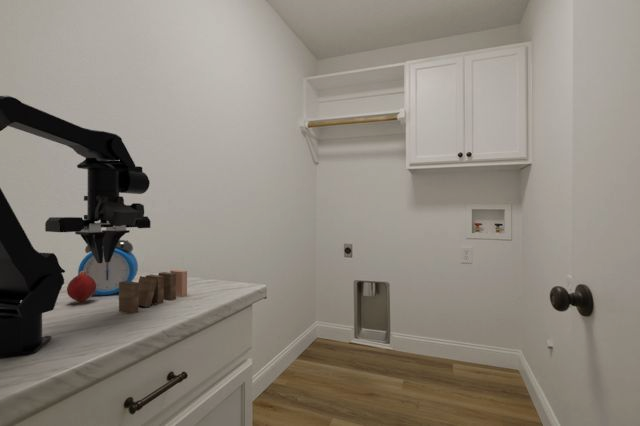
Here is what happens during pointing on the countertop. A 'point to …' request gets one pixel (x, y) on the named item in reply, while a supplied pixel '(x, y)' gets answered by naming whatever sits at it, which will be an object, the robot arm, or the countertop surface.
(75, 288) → the onion
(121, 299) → the tile
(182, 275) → the tile
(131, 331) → the countertop surface
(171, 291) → the tile
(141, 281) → the tile
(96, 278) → the alarm clock
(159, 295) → the tile
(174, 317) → the countertop surface
